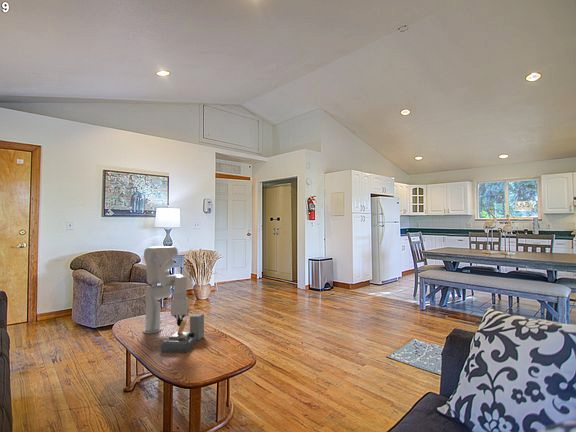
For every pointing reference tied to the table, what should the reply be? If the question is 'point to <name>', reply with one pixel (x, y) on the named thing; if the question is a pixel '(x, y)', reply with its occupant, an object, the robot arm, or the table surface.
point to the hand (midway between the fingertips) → (179, 325)
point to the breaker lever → (181, 327)
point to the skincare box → (197, 325)
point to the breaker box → (179, 342)
